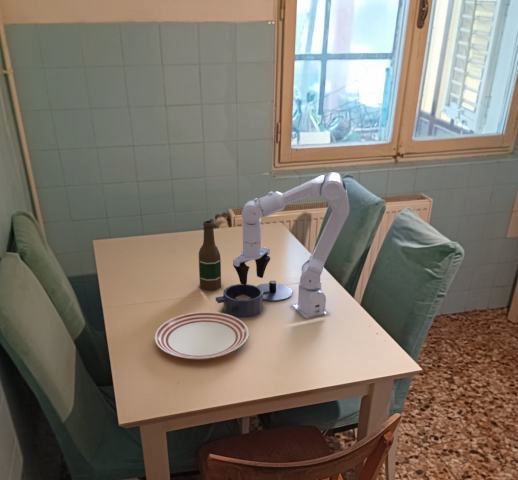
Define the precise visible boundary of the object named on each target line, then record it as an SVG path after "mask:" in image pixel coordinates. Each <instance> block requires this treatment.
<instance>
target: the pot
mask: <svg viewBox="0 0 518 480" xmlns="http://www.w3.org/2000/svg"><path fill="white" fill-rule="evenodd" d="M257 286H258V285H254V284H249V283H247V284H246V285H243V284H241V283H237V284H231V285H229V286H227V287H226V288H225V289H223V292H222V295H221V296H217V297H215V301H216V303H217V304H222V303H223V312H224V314H228V315H231V316H234V317H236V318H238V319H248V318H253V317H256V316H258V315H260V314H261V313H262V312H263V307H264V306H263V303H264V302H263V301H264V300H263V295H266V294H270V291H269V290H268V289H267V288H265V289H260V288H259V287H257ZM242 294H244V295H246V296H249V297H251V298H252V299H250V300H237V299H235V297H237V296H240V295H242Z"/></svg>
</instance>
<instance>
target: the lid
mask: <svg viewBox="0 0 518 480" xmlns="http://www.w3.org/2000/svg"><path fill="white" fill-rule="evenodd" d="M256 286H257V287H259V288H260V289H265V288H267V289H268V290H269V291H270V294H266V295H263V301H265V302H282V301H286V300H287V299H288V300H289V299H290V298H291V297H292V295H293V290H292V288H291V287H289V286H288V285H285V284H283V283H277V281H276V280H269V281H268V282H266V283H261V284H258V285H256Z"/></svg>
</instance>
